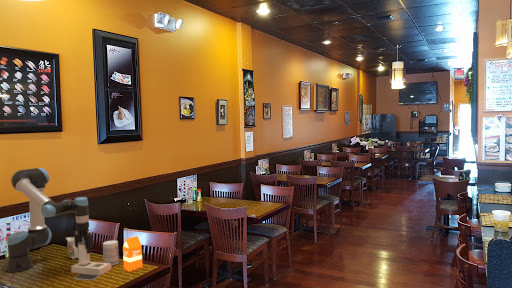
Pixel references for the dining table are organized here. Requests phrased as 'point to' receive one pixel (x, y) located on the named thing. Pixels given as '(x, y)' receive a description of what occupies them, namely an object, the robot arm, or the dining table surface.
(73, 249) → the pitcher
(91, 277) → the phone
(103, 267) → the white flat tray
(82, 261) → the white cylinder
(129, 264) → the orange juice
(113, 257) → the supplement tub
